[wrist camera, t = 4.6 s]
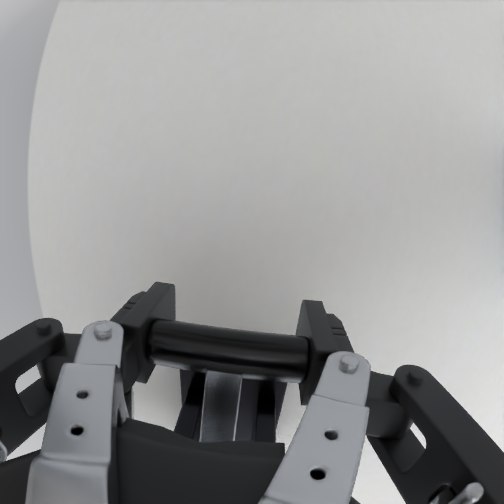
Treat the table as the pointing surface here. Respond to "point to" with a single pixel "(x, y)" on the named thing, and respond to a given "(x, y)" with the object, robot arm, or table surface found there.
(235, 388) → the lever
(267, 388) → the bracket
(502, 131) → the table surface
